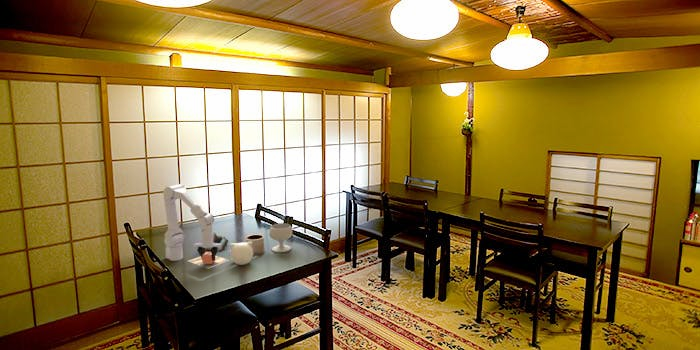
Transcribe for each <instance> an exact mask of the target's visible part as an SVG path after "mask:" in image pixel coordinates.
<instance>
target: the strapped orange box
mask: <svg viewBox="0 0 700 350" xmlns="http://www.w3.org/2000/svg"><path fill="white" fill-rule="evenodd" d="M202 260H203V264H212V263H213V262H214V261H215V260H214V261H212V253H211V251H205V253H204V254H203V255H202Z"/></svg>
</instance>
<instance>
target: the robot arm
mask: <svg viewBox="0 0 700 350" xmlns="http://www.w3.org/2000/svg"><path fill="white" fill-rule="evenodd" d="M187 191H188V190H187V188H186V187H185V185H184V184H182V183H178V184H175V185H170V186H166V187H165V188H164V189H163V190H162V193H163V203H164V204H163V205H164V210H165V217H166V224H167V230H166V232H165V233H164V239H163V240H164V244H165V246H166V247H165V259H167V260H169V261H172V262H175V261H181V260H182V259H183V258H184V252H183V244H184V242H185V240H186V236H185V234H184V231H183V229H181V228H180V226H179V219H178V212H177V205H176V201H177V200H181V201H182V202H183V203H184V204H185V205H186V206H187V207H188V208H189V210H190V213H191V214H192V215H193V216H194V217H195V218H196V219H197V223H198V226H199V229H200V233H201V242H196V243H194V244H193V248H195V249H196V251H197V252H198V253H199V255H200V256H201V258H202V255H203V254H204V253H205V252H206V249H207V248H212V249H211V250H210V252H211V253H212V261H214V260H215V257H216V256H217V253H218V252H217V250H218V248H221V244H218V243H213V223H214V222H215V217H214V216H213V214H212V213H211V212H210V213H209V212H207V211H206V210H205V209H204V208H203V207H202V205H201V204H198V203H196V202H195V201H194V200H193V198H192V197H191V196H190V195H189V193H188V192H187ZM202 261H203V260H202Z"/></svg>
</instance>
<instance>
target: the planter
mask: <svg viewBox="0 0 700 350" xmlns="http://www.w3.org/2000/svg"><path fill="white" fill-rule="evenodd" d="M247 242H252V245H251V247H252V250H253V252H254V253H253V255H254V254H258V255H262V254H263V253H264V252H265V236H264V235H263V234H259V233H257V234H255V233H254V234H249V235H247V236H245V243H247Z"/></svg>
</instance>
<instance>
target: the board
mask: <svg viewBox="0 0 700 350" xmlns="http://www.w3.org/2000/svg"><path fill="white" fill-rule="evenodd" d="M230 260H231V259H227V258H224V257H221V256H218V255H216V257H215V261H214V262H213V263H212V264H203V261H202V258H201V255H200V256H198V257H195V258H192V259H189V260H187V262H189V263H191V264H194V265H196V266H200V267H202V268H204V269H208V270H209V269H212V268H214V267H217V266H219V265H221V264H224V263H227V262H230Z"/></svg>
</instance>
